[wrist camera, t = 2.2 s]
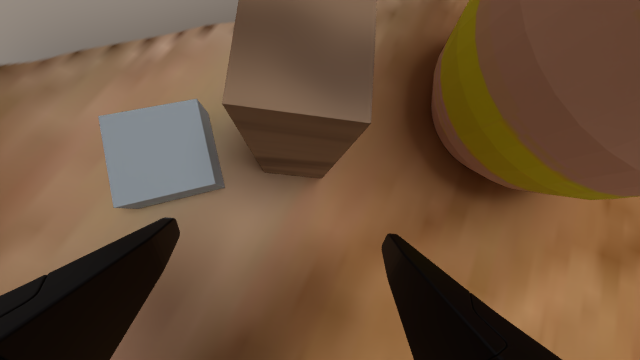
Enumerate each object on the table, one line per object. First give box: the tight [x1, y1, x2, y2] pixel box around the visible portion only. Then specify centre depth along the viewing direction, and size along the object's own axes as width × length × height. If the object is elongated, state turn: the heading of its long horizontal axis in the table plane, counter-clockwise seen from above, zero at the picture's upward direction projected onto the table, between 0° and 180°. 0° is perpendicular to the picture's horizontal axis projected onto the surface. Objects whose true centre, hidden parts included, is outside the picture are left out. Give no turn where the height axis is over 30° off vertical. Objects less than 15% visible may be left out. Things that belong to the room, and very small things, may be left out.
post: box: [222, 0, 377, 178], centre depth 17 cm, size 6×6×15 cm
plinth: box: [98, 99, 225, 209], centre depth 21 cm, size 8×8×3 cm
